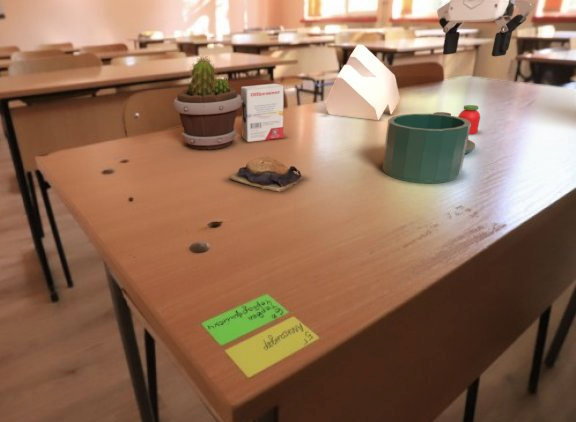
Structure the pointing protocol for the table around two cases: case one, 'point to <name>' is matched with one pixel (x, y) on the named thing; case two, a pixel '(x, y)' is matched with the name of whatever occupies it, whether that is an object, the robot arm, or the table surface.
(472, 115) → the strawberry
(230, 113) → the flowerpot
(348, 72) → the slotted wedge
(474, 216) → the table surface
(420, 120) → the tin
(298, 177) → the bread roll
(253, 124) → the ink box
